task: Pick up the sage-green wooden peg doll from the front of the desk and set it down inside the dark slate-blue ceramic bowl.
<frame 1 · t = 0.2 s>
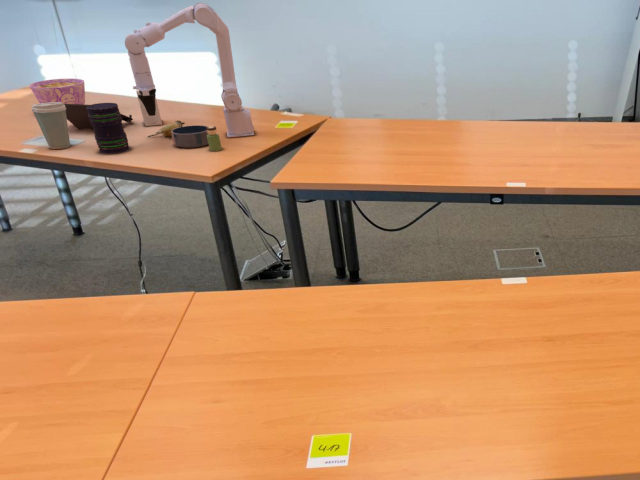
hand: (152, 113, 259), 10 cm above the table, tool pointing down, fingers open, 7 cm apart
disposable coffee cup: (61, 147, 259), on the table
dark striped cylinder: (115, 150, 255), on the table
peg doll: (215, 149, 256), on the table
bowl of food: (66, 113, 303), on the table
decorative bird model: (167, 136, 271), on the table
bowl: (193, 143, 262), on the table
small box: (153, 124, 287), on the table
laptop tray: (98, 127, 283), on the table
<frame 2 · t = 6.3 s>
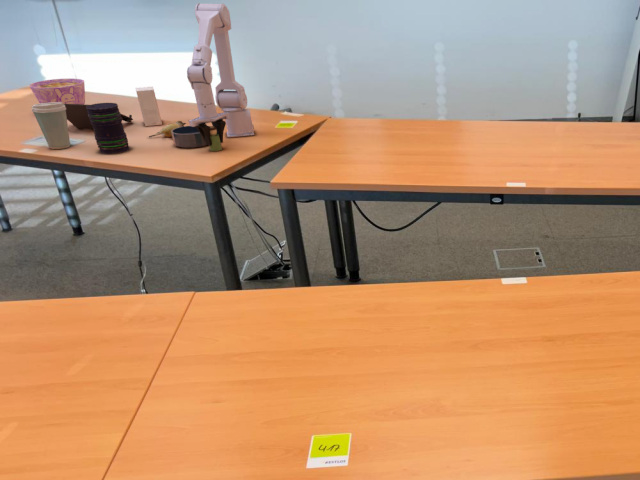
hand: (214, 143, 255), 2 cm above the table, tool pointing down, fingers closed on peg doll, 4 cm apart
peg doll: (216, 149, 256), on the table, touching gripper
everything else where it was.
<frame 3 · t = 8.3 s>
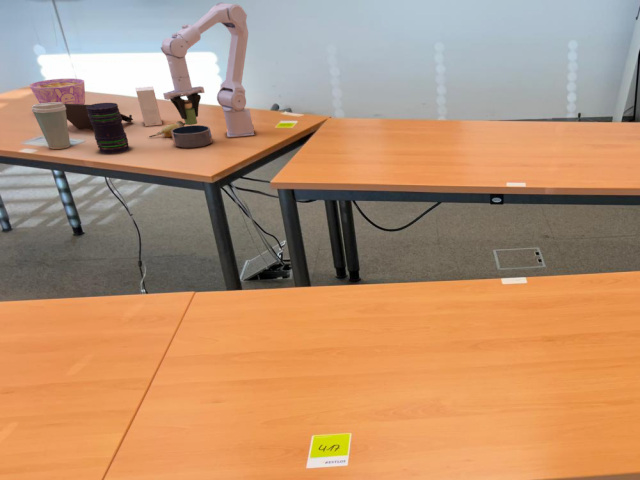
hand: (189, 117, 256), 9 cm above the table, tool pointing down, fingers closed on peg doll, 4 cm apart
peg doll: (191, 123, 257), point 7 cm above the table, touching gripper
everything else where it was.
when the fingers open (2 cm above the table, at t = 10.6 s): peg doll stays where it is, resting on bowl.
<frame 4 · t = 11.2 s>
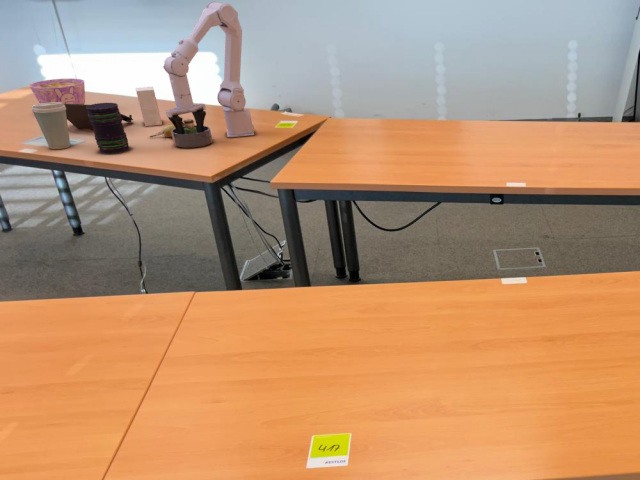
hand: (191, 134, 260), 3 cm above the table, tool pointing down, fingers open, 7 cm apart
peg doll: (193, 142, 262), resting on bowl
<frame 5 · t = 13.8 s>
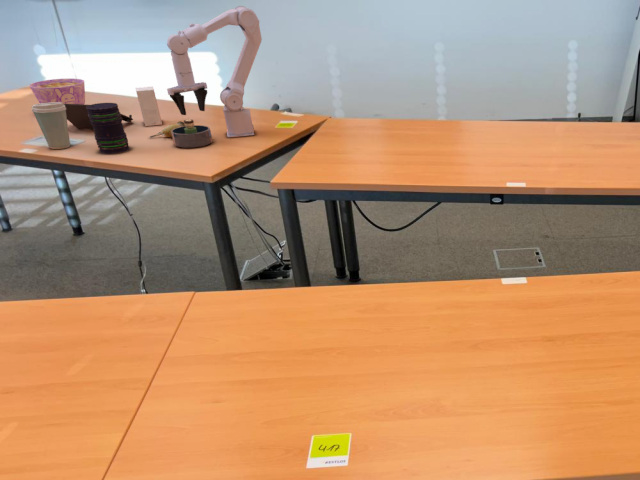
hand: (193, 112, 262), 9 cm above the table, tool pointing down, fingers open, 7 cm apart
at the end: peg doll inside the target area in the bowl (0.0 cm from its centre), point 0.5 cm above the bowl's base; peg doll tilted 0°; the gripper is holding nothing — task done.
